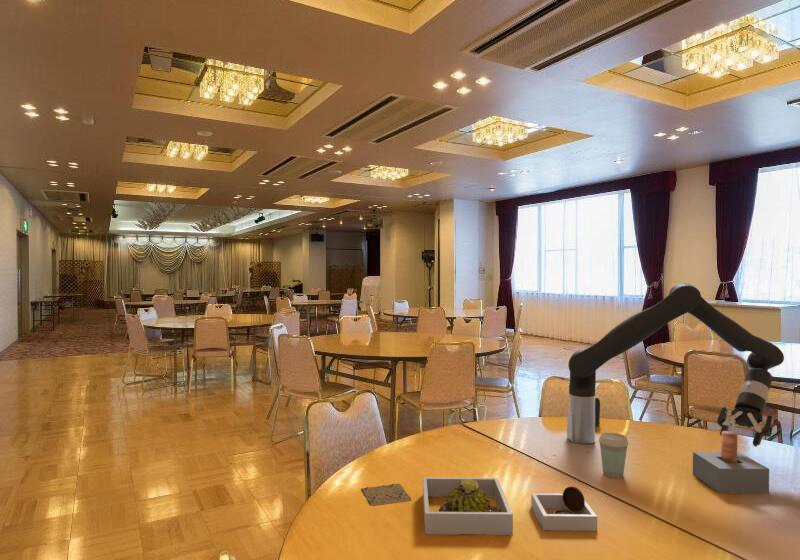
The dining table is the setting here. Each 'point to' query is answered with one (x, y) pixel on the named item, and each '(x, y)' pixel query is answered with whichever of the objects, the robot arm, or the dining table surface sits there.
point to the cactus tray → (466, 520)
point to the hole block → (731, 473)
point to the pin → (729, 447)
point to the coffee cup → (613, 454)
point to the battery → (597, 411)
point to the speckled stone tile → (385, 494)
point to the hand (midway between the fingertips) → (738, 441)
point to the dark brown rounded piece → (572, 501)
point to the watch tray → (562, 521)
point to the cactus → (467, 499)
